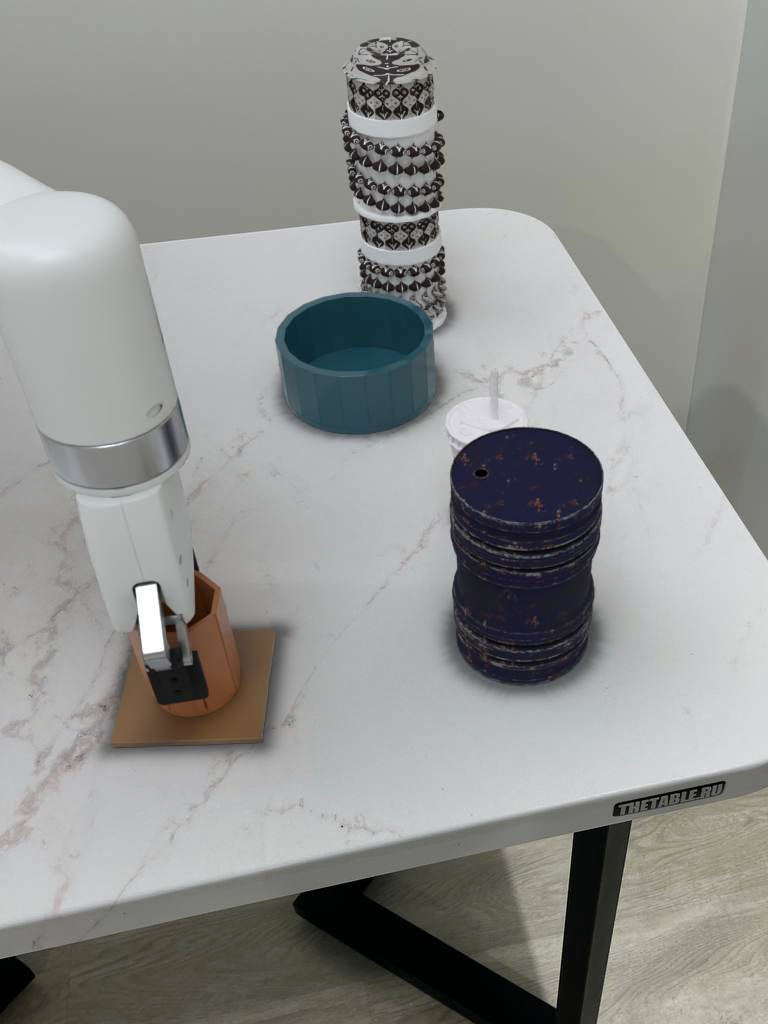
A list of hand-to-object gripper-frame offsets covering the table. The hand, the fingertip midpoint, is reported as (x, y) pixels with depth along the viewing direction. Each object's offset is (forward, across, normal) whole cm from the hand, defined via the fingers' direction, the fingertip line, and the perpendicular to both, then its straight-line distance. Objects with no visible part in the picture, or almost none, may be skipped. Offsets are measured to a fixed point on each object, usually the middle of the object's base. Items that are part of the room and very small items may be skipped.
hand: (182, 643), depth 70 cm
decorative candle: (+5, -46, +22) cm, 51 cm away
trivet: (+5, 0, 0) cm, 5 cm away
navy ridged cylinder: (+5, 0, +23) cm, 24 cm away
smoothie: (+5, -13, +24) cm, 27 cm away
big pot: (+5, -34, +16) cm, 38 cm away
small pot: (+4, 0, 0) cm, 4 cm away
